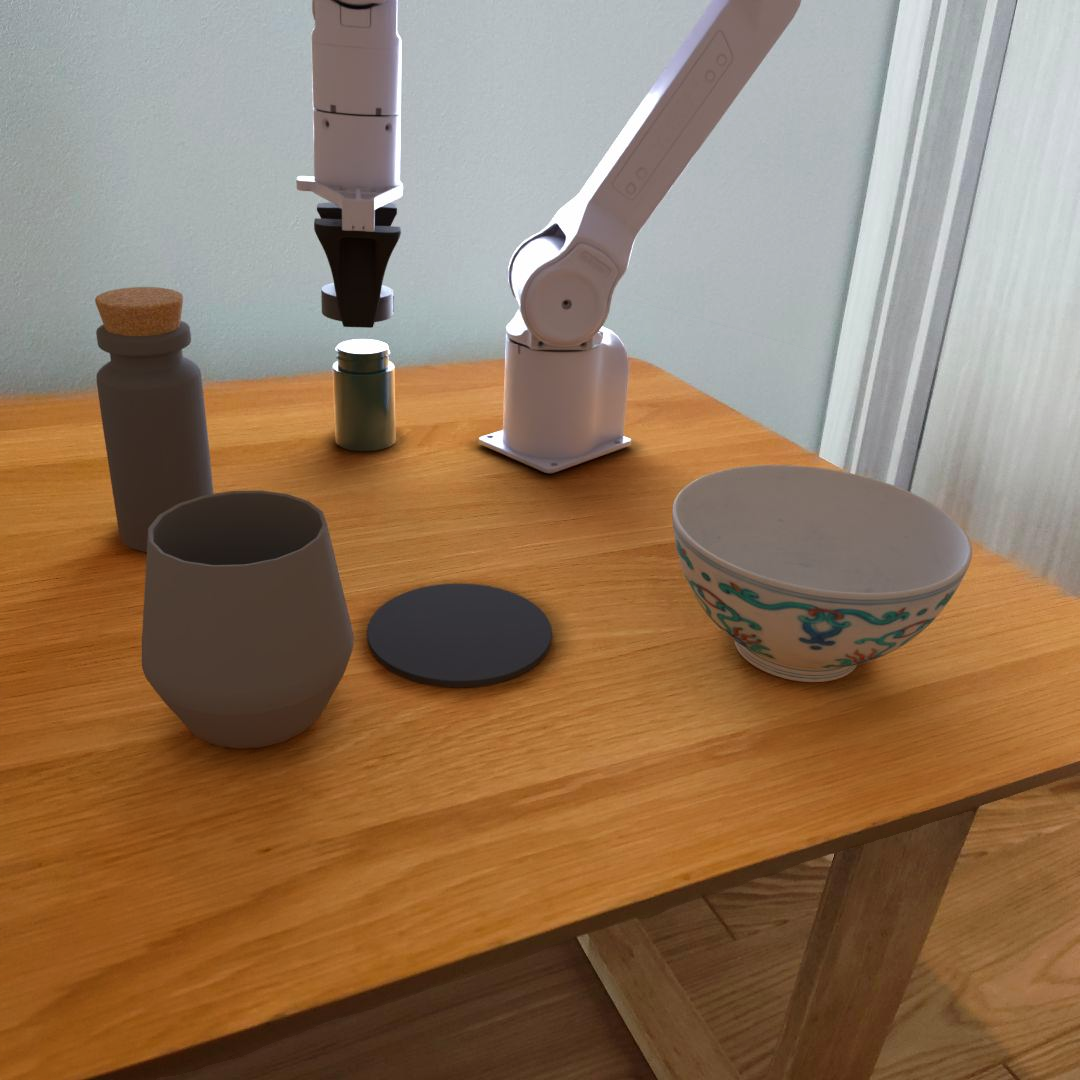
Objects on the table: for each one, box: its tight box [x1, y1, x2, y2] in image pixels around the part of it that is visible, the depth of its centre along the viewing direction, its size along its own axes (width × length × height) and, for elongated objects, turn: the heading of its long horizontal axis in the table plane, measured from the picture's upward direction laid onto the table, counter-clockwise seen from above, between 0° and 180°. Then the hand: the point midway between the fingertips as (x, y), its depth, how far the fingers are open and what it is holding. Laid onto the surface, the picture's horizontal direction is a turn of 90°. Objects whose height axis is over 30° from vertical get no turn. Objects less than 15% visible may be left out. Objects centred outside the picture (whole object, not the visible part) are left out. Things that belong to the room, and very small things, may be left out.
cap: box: [320, 282, 395, 323], centre depth 75 cm, size 5×5×2 cm
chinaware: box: [672, 464, 973, 683], centre depth 56 cm, size 15×15×8 cm
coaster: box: [366, 583, 553, 688], centre depth 58 cm, size 10×10×1 cm
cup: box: [141, 490, 355, 750], centre depth 48 cm, size 10×9×10 cm
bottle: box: [94, 286, 215, 553], centre depth 63 cm, size 6×6×15 cm
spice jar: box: [331, 338, 397, 452], centre depth 80 cm, size 5×5×8 cm
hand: (357, 315), depth 76 cm, fingers closed on cap, 5 cm apart
